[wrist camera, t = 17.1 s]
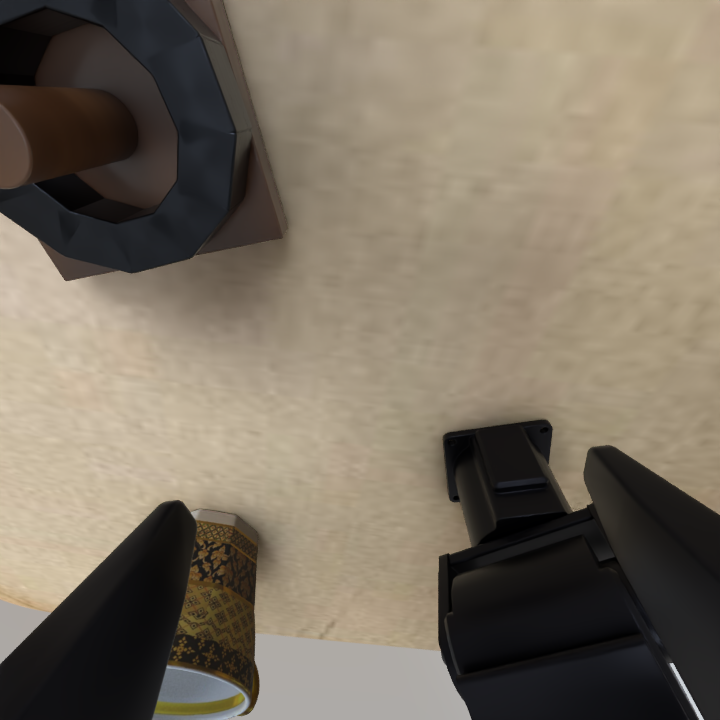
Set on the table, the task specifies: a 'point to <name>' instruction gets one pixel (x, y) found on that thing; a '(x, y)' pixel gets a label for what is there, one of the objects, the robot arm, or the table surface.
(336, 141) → the table surface
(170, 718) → the ceramic cup
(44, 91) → the peg stand
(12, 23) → the ring
